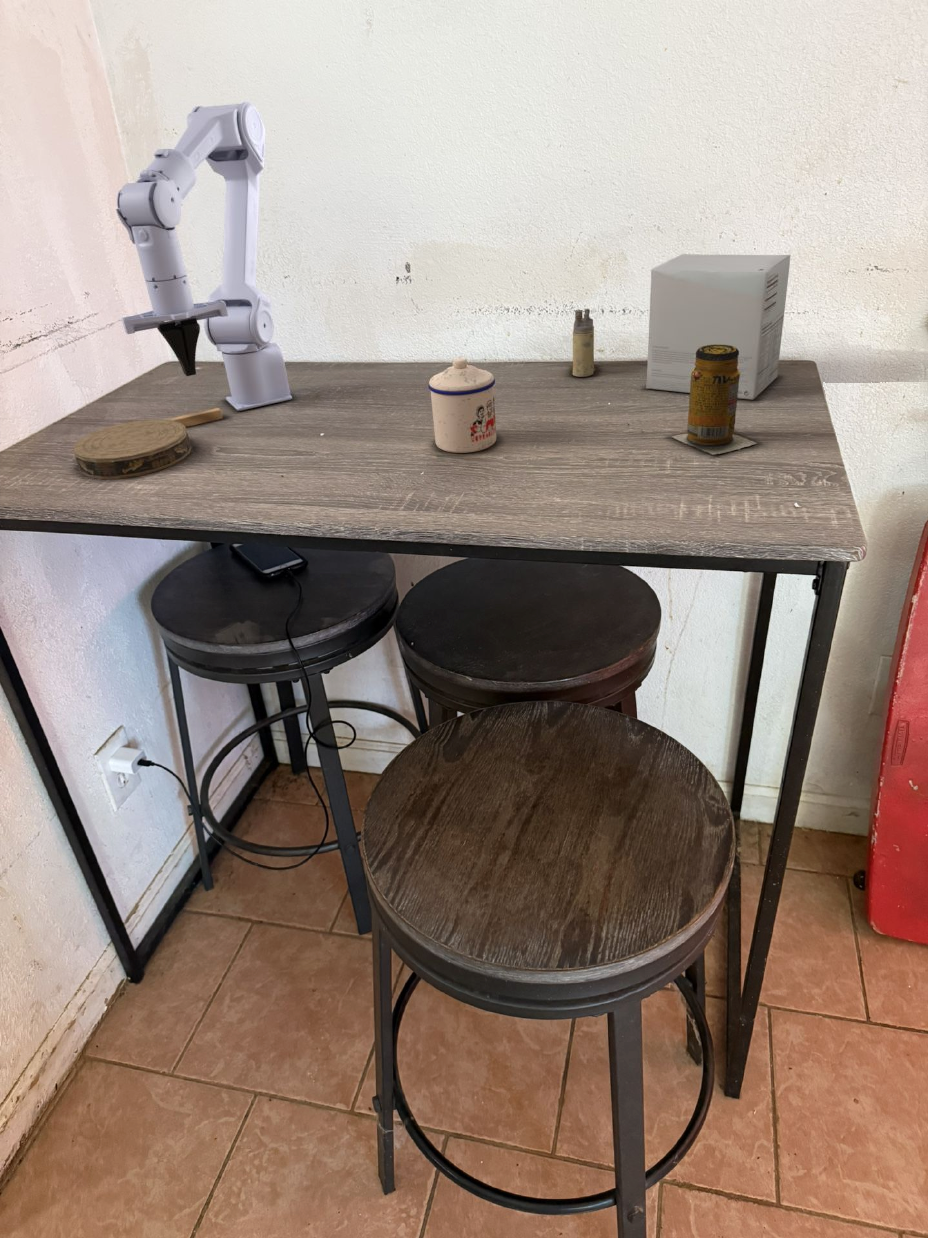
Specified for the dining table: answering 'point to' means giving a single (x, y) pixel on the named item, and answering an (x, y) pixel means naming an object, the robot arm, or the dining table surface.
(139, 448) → the tin can
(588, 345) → the lighter
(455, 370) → the teacup with lid
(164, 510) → the dining table surface
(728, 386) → the condiment
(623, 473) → the dining table surface
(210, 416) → the rail
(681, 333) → the supplement box
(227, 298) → the robot arm
